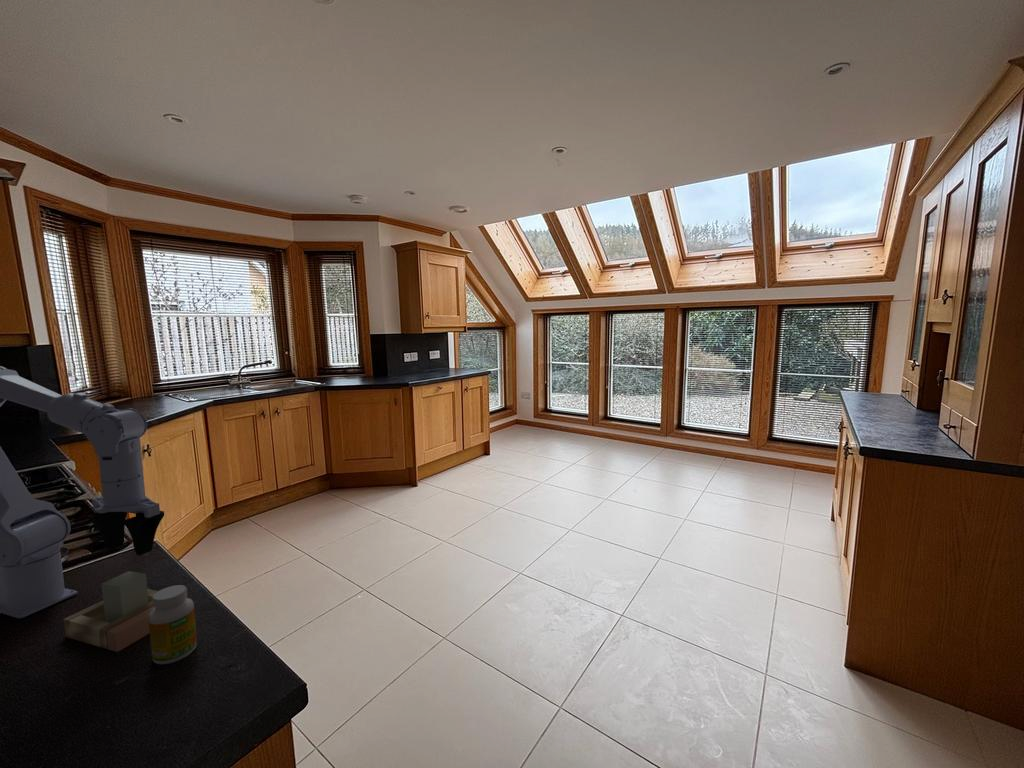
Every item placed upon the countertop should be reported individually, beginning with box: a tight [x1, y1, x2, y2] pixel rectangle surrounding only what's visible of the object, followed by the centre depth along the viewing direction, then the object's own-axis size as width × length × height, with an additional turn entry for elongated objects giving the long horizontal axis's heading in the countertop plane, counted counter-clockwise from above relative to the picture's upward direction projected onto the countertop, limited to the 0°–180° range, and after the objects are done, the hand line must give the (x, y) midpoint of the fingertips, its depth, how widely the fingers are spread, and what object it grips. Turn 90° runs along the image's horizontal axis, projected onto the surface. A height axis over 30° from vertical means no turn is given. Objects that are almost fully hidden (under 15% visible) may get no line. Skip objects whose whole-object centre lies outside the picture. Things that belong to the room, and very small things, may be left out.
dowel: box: [101, 570, 149, 623], centre depth 72 cm, size 4×4×8 cm
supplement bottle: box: [149, 584, 198, 665], centre depth 65 cm, size 5×5×10 cm
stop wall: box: [107, 606, 155, 653], centre depth 71 cm, size 2×10×3 cm, turn 163°
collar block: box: [63, 588, 159, 650], centre depth 73 cm, size 10×10×3 cm
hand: (129, 550), depth 79 cm, fingers open, 7 cm apart
